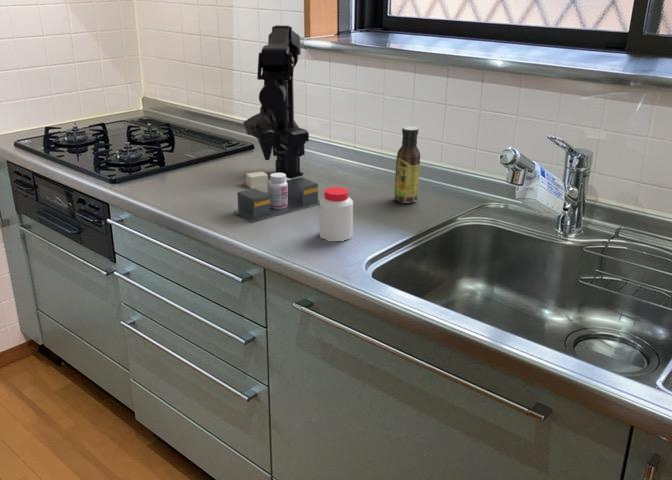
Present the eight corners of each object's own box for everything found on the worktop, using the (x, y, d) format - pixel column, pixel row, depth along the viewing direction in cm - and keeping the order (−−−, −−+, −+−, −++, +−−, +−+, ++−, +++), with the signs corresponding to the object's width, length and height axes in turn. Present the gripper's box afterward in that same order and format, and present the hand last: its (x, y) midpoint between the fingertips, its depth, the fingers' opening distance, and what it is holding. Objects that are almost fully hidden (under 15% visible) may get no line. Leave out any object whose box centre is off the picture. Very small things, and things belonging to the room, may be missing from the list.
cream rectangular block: (263, 183, 193) (262, 171, 192) (268, 187, 190) (267, 175, 189) (246, 185, 191) (246, 173, 190) (251, 189, 188) (251, 177, 186)
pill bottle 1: (285, 210, 171) (284, 178, 167) (266, 208, 171) (266, 176, 168) (290, 203, 175) (289, 172, 172) (272, 202, 176) (271, 171, 172)
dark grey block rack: (303, 195, 183) (303, 175, 181) (322, 203, 177) (322, 183, 175) (233, 213, 170) (232, 192, 168) (251, 222, 164) (250, 200, 162)
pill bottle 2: (318, 229, 160) (318, 185, 156) (350, 229, 161) (351, 185, 157) (320, 242, 153) (320, 196, 149) (354, 241, 154) (355, 196, 150)
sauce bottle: (390, 198, 182) (393, 125, 174) (411, 195, 184) (415, 123, 176) (400, 206, 176) (403, 130, 168) (421, 203, 178) (426, 129, 170)
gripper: (227, 99, 165) (230, 161, 171) (270, 112, 151) (272, 179, 157) (265, 94, 171) (266, 154, 177) (310, 106, 158) (310, 170, 164)
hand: (277, 164), depth 169 cm, fingers open, 9 cm apart
